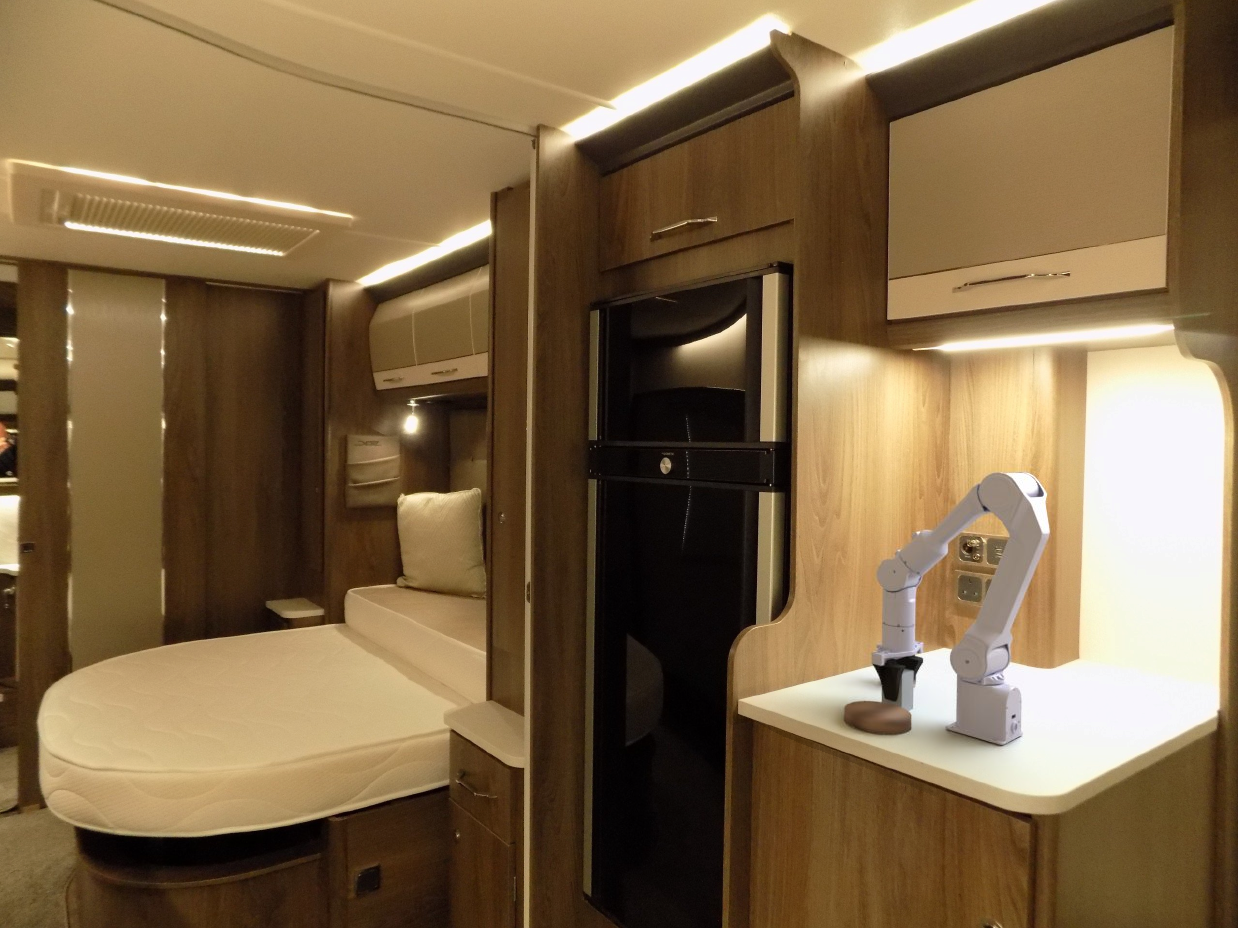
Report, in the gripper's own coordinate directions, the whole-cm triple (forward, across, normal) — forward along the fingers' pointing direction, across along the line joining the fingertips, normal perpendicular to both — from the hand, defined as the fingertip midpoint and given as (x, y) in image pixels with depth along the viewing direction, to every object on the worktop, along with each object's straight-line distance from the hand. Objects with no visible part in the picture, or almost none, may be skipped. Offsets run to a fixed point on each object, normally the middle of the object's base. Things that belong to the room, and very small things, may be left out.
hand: (897, 697), depth 139 cm
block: (+2, 0, 0) cm, 2 cm away
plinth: (+2, +10, +2) cm, 10 cm away
